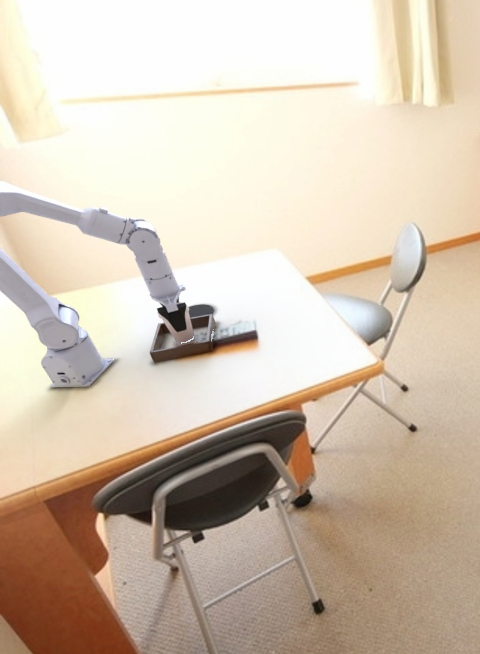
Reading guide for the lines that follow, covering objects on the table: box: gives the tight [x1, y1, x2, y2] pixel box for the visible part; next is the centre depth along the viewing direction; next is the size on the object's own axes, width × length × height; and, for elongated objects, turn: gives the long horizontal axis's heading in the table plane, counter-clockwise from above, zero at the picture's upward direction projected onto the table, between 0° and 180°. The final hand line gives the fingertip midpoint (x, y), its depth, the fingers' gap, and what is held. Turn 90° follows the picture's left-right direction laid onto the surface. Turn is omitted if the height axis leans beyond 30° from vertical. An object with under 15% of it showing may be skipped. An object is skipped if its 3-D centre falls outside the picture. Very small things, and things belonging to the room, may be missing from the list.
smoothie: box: [157, 301, 196, 346], centre depth 117 cm, size 6×6×14 cm
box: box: [149, 313, 217, 364], centre depth 120 cm, size 13×12×3 cm
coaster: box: [188, 303, 214, 318], centre depth 131 cm, size 9×9×1 cm
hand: (179, 324), depth 118 cm, fingers closed on smoothie, 6 cm apart
